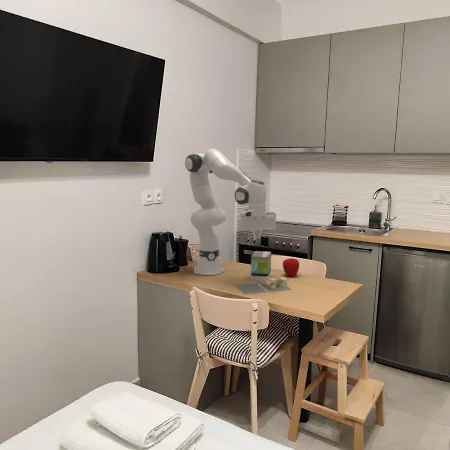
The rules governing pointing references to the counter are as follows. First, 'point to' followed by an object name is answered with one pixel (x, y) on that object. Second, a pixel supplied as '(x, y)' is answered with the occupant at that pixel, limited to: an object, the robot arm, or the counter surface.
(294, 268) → the apple
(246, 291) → the mat
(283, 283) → the tee
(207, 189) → the robot arm
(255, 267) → the tea box
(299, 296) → the counter surface
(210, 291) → the counter surface
